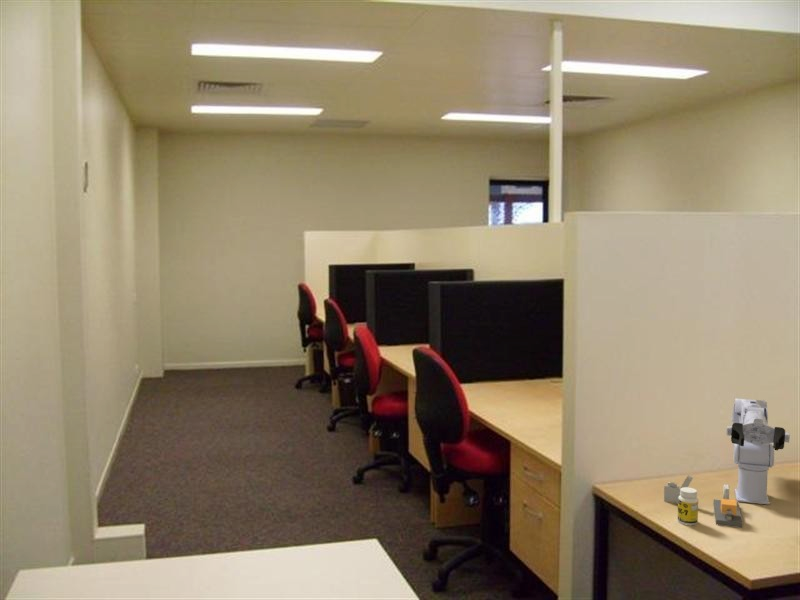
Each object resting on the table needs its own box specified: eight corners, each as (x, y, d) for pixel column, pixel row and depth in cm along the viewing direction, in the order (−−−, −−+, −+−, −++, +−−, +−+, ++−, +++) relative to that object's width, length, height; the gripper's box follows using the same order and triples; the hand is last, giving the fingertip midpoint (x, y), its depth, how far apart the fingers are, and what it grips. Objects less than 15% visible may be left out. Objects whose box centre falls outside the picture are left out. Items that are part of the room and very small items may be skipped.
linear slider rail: (713, 503, 201) (714, 482, 200) (737, 506, 198) (738, 485, 198) (716, 524, 187) (716, 501, 186) (742, 527, 184) (743, 504, 184)
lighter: (663, 501, 203) (664, 472, 202) (665, 499, 204) (666, 470, 203) (690, 506, 199) (691, 477, 198) (692, 504, 200) (693, 475, 199)
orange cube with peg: (720, 507, 191) (721, 498, 191) (735, 509, 190) (735, 500, 190) (721, 515, 186) (722, 505, 186) (737, 517, 185) (737, 507, 185)
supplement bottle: (673, 520, 190) (674, 488, 189) (687, 517, 191) (688, 485, 191) (687, 526, 185) (688, 494, 184) (701, 523, 187) (702, 491, 186)
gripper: (727, 410, 198) (728, 425, 186) (788, 416, 193) (793, 432, 181) (725, 435, 200) (726, 452, 187) (786, 442, 194) (791, 460, 182)
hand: (759, 444), depth 184 cm, fingers open, 7 cm apart
